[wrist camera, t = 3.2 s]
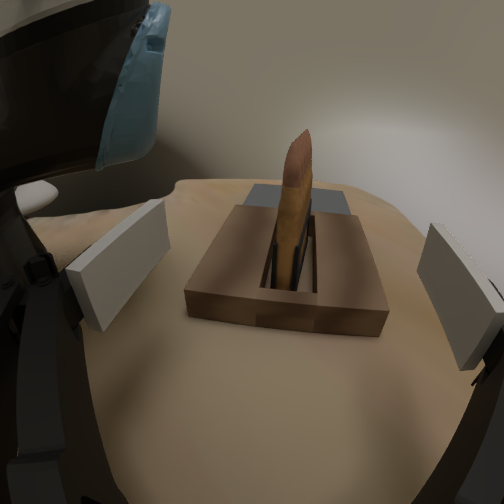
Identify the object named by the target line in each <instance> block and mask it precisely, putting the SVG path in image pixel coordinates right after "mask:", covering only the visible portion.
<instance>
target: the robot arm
mask: <svg viewBox="0 0 504 504" xmlns="http://www.w3.org/2000/svg"><path fill="white" fill-rule="evenodd" d="M170 14H171V8H170V6H169V5H166V4H161V3H160V2H153V3H152V4H151V5H150V4H149V0H0V504H128V502H127V500H126V498H125V497H124V495H123V494H122V493H121V491H120V490H119V489H118V487H117V486H116V484H115V481H114V479H113V476H112V473H111V470H110V467H109V464H108V461H107V458H106V454H105V451H104V448H103V444H102V440H101V437H100V433H99V429H98V425H97V421H96V417H95V412H94V407H93V403H92V398H91V392H90V387H89V381H88V375H87V368H86V361H85V354H84V345H83V335H82V329H81V326H80V324H79V322H80V321H81V320H82V318H83V317H84V318H85V321H86V323H87V325H88V327H89V329H92V330H96V331H99V332H102V333H104V332H105V330H106V329H107V327H108V326H109V325H110V323H111V322H112V321H113V319H114V318H115V317H116V315H117V314H118V313H119V311H120V310H121V309H122V308H123V306H124V305H125V304H126V302H127V301H128V300H129V298H130V297H131V296H132V295H133V293H134V292H135V291H136V290H137V288H138V287H139V286H140V284H141V283H142V282H143V281H144V279H145V278H146V277H147V276H148V274H149V273H150V272H151V271H152V270H153V268H154V267H155V266H156V265H157V263H158V262H159V261H160V260H161V259H162V257H163V256H164V255H165V254H166V253H167V251H168V250H169V249H170V243H169V236H168V228H167V221H166V213H165V204H164V200H160V199H151V200H149V201H148V202H147V203H145V204H144V205H142V206H141V207H140V208H138V209H137V210H136V211H134V212H133V213H132V214H130V215H129V216H128V217H127V218H125V219H124V220H123V221H121V222H120V223H119V224H118V225H116V226H115V227H114V228H112V229H111V230H110V231H109V232H107V233H106V234H105V235H104V236H103V237H101V238H100V239H99V240H98V241H96V242H95V243H94V244H93V245H91V246H89V247H88V248H87V249H86V250H84V251H83V253H81V254H80V255H79V256H77V258H75V259H74V260H73V261H72V262H71V263H69V264H68V265H67V266H66V267H65V268H64V269H63V270H62V271H61V272H59V273H58V270H57V267H56V265H55V262H54V259H53V256H52V254H51V253H48V251H47V249H46V248H45V246H44V245H43V244H42V242H41V241H40V239H39V238H38V237H37V235H36V234H35V232H34V231H33V229H32V228H31V226H30V225H29V223H28V222H27V220H26V219H25V217H24V216H23V214H22V212H21V211H20V209H19V206H18V203H17V199H16V195H15V191H14V187H17V186H21V185H25V184H28V183H32V182H36V181H40V180H44V179H48V178H52V177H57V176H61V175H66V174H71V173H75V172H81V171H86V170H91V169H95V170H96V171H98V170H101V169H102V168H103V167H104V166H108V165H113V164H117V163H122V162H126V161H132V160H136V159H139V158H141V157H143V156H144V155H145V154H146V153H147V152H148V151H149V150H150V149H151V148H152V146H153V144H154V142H155V139H156V131H157V118H158V105H159V94H160V83H161V74H162V65H163V56H164V49H165V43H166V36H167V31H168V25H169V19H170ZM417 273H418V275H419V277H420V279H421V281H422V283H423V285H424V287H425V289H426V291H427V293H428V295H429V297H430V299H431V301H432V304H433V306H434V308H435V310H436V312H437V315H438V317H439V319H440V322H441V324H442V326H443V329H444V331H445V333H446V336H447V338H448V341H449V343H450V346H451V349H452V351H453V354H454V356H455V359H456V362H457V365H458V368H459V370H460V371H466V370H474V369H475V368H476V367H477V365H478V364H479V362H480V361H481V360H482V358H483V360H484V363H485V367H484V368H483V369H482V371H481V372H480V373H479V375H478V376H477V377H476V379H475V380H474V381H473V382H472V384H471V386H473V385H474V384H475V383H477V384H476V386H475V389H474V391H473V394H472V396H471V399H470V401H469V404H468V406H467V408H466V411H465V413H464V415H463V417H462V419H461V422H460V424H459V426H458V428H457V430H456V432H455V434H454V436H453V438H452V440H451V442H450V443H449V445H448V447H447V449H446V451H445V453H444V454H443V456H442V458H441V460H440V461H439V463H438V465H437V466H436V468H435V469H434V471H433V473H432V474H431V476H430V477H429V479H428V480H427V482H426V483H425V485H424V486H423V488H422V489H421V491H420V492H419V494H418V495H417V496H416V498H415V499H414V500H413V502H412V503H411V504H500V503H501V504H504V299H503V297H502V295H501V294H500V292H498V290H497V288H496V287H495V285H494V284H493V283H492V282H491V281H490V280H489V279H488V278H487V277H486V276H485V275H484V273H483V272H482V271H481V269H480V268H479V267H478V265H477V264H476V263H475V261H474V260H473V259H472V258H471V257H470V255H469V254H468V253H467V252H466V251H465V249H464V248H463V247H462V246H461V244H460V243H459V242H458V241H457V240H456V239H455V237H454V236H453V235H452V234H451V233H450V232H449V231H448V230H447V228H446V227H445V226H444V225H443V224H437V223H430V227H429V231H428V235H427V238H426V242H425V245H424V249H423V252H422V255H421V259H420V262H419V265H418V268H417ZM13 333H14V334H13ZM18 450H19V451H18ZM17 451H18V456H17Z"/></svg>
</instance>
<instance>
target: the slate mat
mask: <svg viewBox="0 0 504 504" xmlns="http://www.w3.org/2000/svg"><path fill="white" fill-rule="evenodd" d="M281 190H282V185H268V184H254V186H253V188H252V190H251V191H250V193H249V195H248V196H247V198H246V200H245V202H244V203H243V205H247V206H261V207H274V208H278V205H279V201H280V198H281ZM311 199H312V205H311V211H318V212H328V213H337V214H347V215H351V213H350V210H349V207H348V204H347V202H346V199H345V196H344V194H343V191H335V190H326V189H316V188H312V189H311Z"/></svg>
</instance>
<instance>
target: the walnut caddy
mask: <svg viewBox="0 0 504 504" xmlns="http://www.w3.org/2000/svg"><path fill="white" fill-rule="evenodd" d="M277 218H278V208H274V207H261V206H247V205H235V207H234V208H233V210H232V211H231V213H230V214H229V216H228V218H227V219H226V221H225V222H224V224H223V226H222V227H221V229H220V230H219V232H218V234H217V235H216V237H215V239H214V240H213V242H212V243H211V245H210V247H209V248H208V250H207V252H206V253H205V255H204V256H203V258H202V260H201V261H200V263H199V265H198V266H197V268H196V270H195V271H194V273H193V275H192V276H191V278H190V280H189V281H188V283H187V285H186V287H185V288H184V294H185V300H186V305H187V311H188V316H191V317H197V318H203V319H210V320H216V321H223V322H229V323H236V324H244V325H251V326H259V327H267V328H276V329H285V330H295V331H305V332H316V333H328V334H342V335H357V336H377V337H379V336H380V334H381V331H382V329H383V326H384V324H385V321H386V319H387V316H388V314H389V311H390V310H389V307H388V303H387V300H386V297H385V293H384V290H383V287H382V283H381V280H380V277H379V274H378V271H377V268H376V265H375V262H374V259H373V256H372V253H371V250H370V248H369V245H368V242H367V239H366V236H365V234H364V231H363V228H362V226H361V223H360V221H359V218H358V216H355V215H347V214H337V213H328V212H318V211H311V215H310V225H309V234H308V236H313V293H307V292H297V291H287V290H278V289H268V288H265V284H266V279H267V275H268V271H269V266H270V262H271V257H272V253H273V243H274V241H275V239H276V234H277Z"/></svg>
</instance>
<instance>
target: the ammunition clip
mask: <svg viewBox="0 0 504 504" xmlns="http://www.w3.org/2000/svg"><path fill="white" fill-rule="evenodd" d="M311 159H312V146H311V138H310V134H309V131H308V130H307V129H306V130H305V131H304V132H303V133H302V134H301V135H300V136H299V137H298V138H297V139H296V140H295V141H294V142H292V144H291V146H290V148H289V150H288V153H287V156H286V161H285V165H284V172H283V184H282V190H281V198H280V201H279V205H278V218H277V234H276V239H275V241H274V243H273V255H272V271H271V287H270V289H278V290H287V291H296V290H297V286H298V282H299V278H300V274H301V269H302V265H303V261H304V256H305V252H306V247H307V243H308V234H309V225H310V215H311V205H312V199H311V189H312V160H311Z"/></svg>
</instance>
